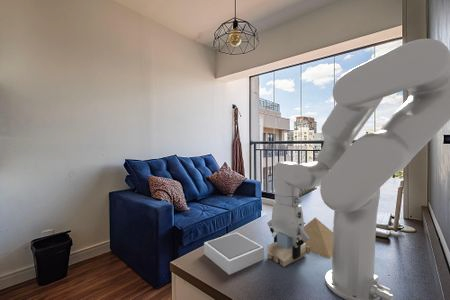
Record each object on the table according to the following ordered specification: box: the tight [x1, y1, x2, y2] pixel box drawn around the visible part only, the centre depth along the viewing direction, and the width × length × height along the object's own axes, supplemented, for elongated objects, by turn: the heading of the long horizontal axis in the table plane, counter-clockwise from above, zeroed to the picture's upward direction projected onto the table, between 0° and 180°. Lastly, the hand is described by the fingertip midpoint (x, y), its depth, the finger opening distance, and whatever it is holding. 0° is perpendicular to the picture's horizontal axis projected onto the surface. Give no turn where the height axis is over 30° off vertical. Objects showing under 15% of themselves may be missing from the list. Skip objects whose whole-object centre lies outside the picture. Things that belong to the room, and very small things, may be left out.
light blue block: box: [277, 232, 297, 249], centre depth 72 cm, size 4×5×4 cm
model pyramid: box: [300, 217, 333, 259], centre depth 83 cm, size 17×17×10 cm
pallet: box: [266, 241, 307, 267], centre depth 72 cm, size 7×11×4 cm, turn 126°
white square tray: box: [203, 232, 265, 276], centre depth 73 cm, size 14×14×4 cm
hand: (286, 252), depth 72 cm, fingers closed on pallet, 6 cm apart
